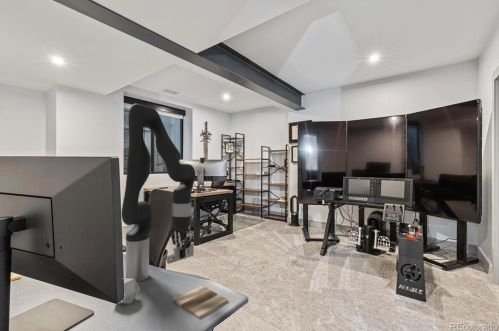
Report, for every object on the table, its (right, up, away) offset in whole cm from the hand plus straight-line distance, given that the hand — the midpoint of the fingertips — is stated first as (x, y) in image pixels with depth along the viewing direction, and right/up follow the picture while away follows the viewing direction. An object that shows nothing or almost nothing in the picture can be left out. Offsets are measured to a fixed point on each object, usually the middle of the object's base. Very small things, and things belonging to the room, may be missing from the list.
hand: (180, 256), depth 96 cm
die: (-18, -13, -9) cm, 24 cm away
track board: (+10, -13, -8) cm, 18 cm away
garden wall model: (0, -1, 0) cm, 1 cm away
